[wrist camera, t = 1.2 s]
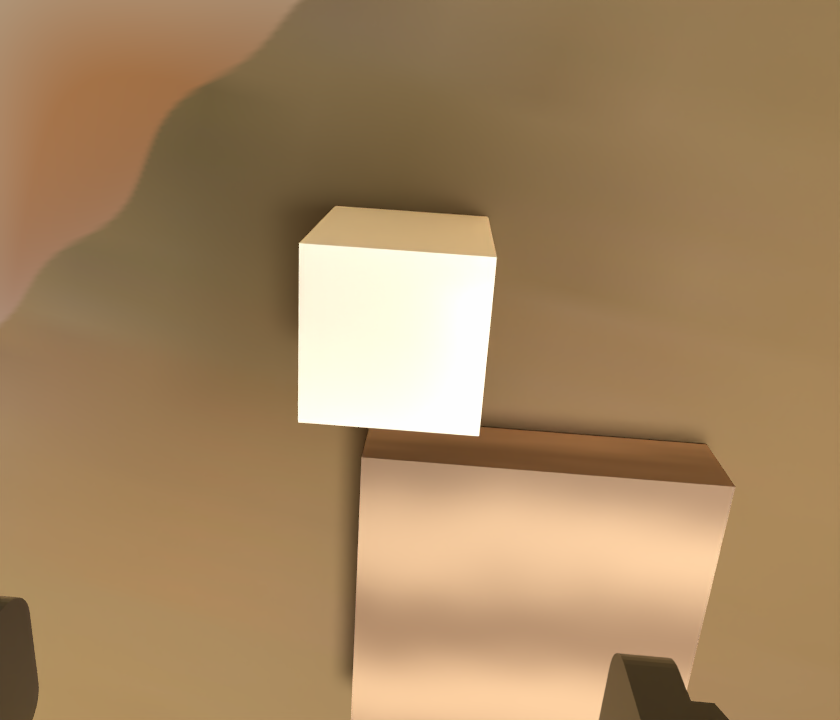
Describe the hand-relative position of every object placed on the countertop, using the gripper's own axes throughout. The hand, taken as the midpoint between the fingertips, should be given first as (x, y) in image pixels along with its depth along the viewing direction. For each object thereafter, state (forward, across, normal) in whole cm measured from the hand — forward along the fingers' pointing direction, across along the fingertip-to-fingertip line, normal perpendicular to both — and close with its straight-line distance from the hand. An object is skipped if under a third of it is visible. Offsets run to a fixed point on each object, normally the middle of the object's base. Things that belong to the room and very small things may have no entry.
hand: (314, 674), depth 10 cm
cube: (+17, 0, -1) cm, 17 cm away
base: (+16, -5, +10) cm, 20 cm away
